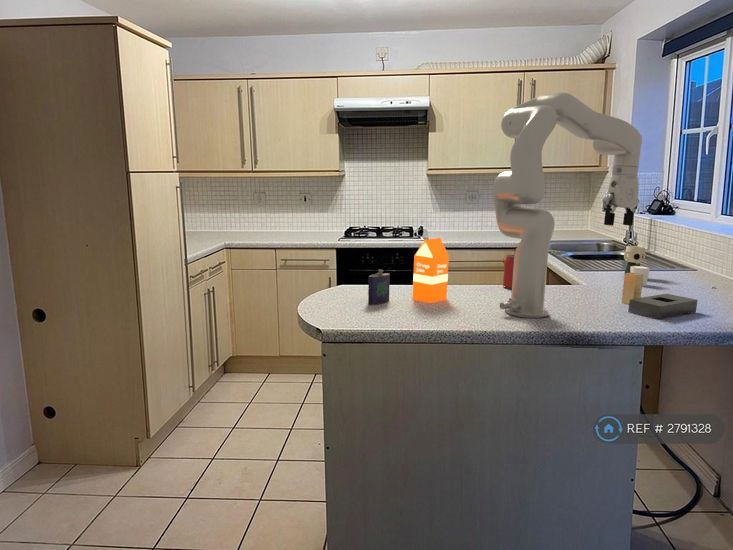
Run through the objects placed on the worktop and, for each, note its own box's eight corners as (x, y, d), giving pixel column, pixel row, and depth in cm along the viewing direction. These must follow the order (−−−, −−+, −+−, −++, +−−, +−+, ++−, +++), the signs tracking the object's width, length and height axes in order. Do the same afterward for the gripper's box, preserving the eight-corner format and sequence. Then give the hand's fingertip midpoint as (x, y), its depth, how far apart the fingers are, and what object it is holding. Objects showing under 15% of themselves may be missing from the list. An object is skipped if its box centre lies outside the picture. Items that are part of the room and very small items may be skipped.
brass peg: (632, 305, 180) (636, 275, 178) (621, 302, 183) (624, 273, 182) (639, 304, 182) (643, 274, 180) (628, 301, 186) (632, 272, 184)
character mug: (628, 279, 227) (631, 248, 225) (615, 276, 234) (619, 245, 231) (649, 278, 231) (652, 247, 228) (635, 275, 237) (639, 245, 235)
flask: (385, 299, 179) (386, 267, 177) (391, 301, 177) (393, 268, 175) (365, 304, 172) (366, 270, 170) (372, 305, 170) (373, 271, 168)
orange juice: (412, 298, 181) (414, 238, 177) (428, 295, 187) (430, 236, 183) (431, 303, 175) (434, 241, 172) (447, 299, 182) (450, 239, 178)
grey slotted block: (659, 319, 162) (660, 306, 162) (628, 311, 171) (629, 299, 170) (695, 312, 173) (697, 299, 172) (664, 305, 181) (666, 293, 180)
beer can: (507, 285, 208) (509, 253, 206) (523, 287, 204) (526, 255, 202) (499, 287, 203) (501, 255, 201) (516, 290, 199) (518, 257, 197)
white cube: (651, 286, 213) (653, 268, 212) (633, 286, 213) (635, 268, 212) (642, 283, 220) (644, 265, 218) (625, 282, 220) (627, 265, 218)
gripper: (618, 171, 170) (611, 226, 173) (652, 173, 179) (645, 226, 181) (597, 170, 176) (591, 224, 179) (631, 173, 185) (624, 224, 188)
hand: (618, 225), depth 180 cm, fingers open, 9 cm apart
